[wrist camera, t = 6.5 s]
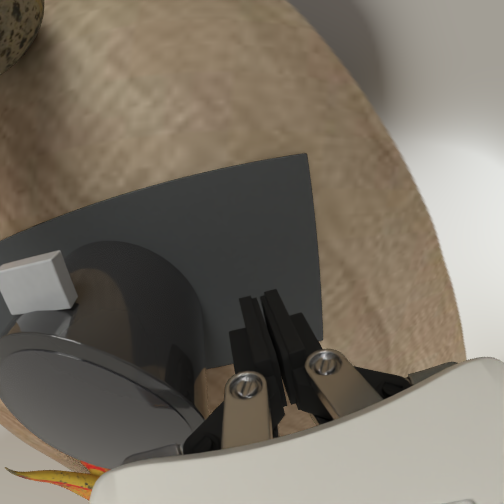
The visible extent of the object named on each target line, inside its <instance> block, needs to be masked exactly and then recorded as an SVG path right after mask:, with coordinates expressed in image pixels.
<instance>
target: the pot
mask: <svg viewBox="0 0 504 504" xmlns="http://www.w3.org/2000/svg"><path fill="white" fill-rule="evenodd" d="M0 292H1V294H2V296H3V298H4V300H5V302H6V304H7V307H8V309H9V311H10V313H11V314H12V315H15V316H14V317H13V318H12V320H11V321H10V322H9V324H8V325H7V326H6V328H5V329H4V330H3V332H2V333H1V335H0V398H1V400H2V401H3V403H4V404H5V406H6V407H7V408H8V409H9V411H10V412H11V413H12V414H13V415H14V416H15V417H16V419H17V420H18V421H19V422H20V423H21V424H23V425H24V426H25V427H26V428H27V429H28V430H29V431H31V432H32V433H33V434H34V435H36V436H37V437H38V438H40V439H41V440H43V441H44V442H46V443H47V444H49V445H50V446H52V447H54V448H55V449H57V450H59V451H61V452H63V453H65V454H67V455H69V456H71V457H73V458H76V459H78V460H80V461H83V462H86V463H89V464H92V465H95V466H98V467H102V468H106V469H110V470H111V469H113V468H116V467H118V466H121V465H122V463H123V461H124V460H125V459H126V458H127V457H128V456H130V455H133V454H136V453H140V452H144V451H148V450H152V449H156V448H159V447H163V446H166V445H170V444H173V443H177V444H182V443H184V442H185V441H186V439H187V438H188V437H189V436H190V435H191V434H192V433H193V432H194V431H195V430H196V429H197V428H198V427H199V426H200V425H201V424H202V423H203V422H204V421H205V420H206V419H207V418H208V417H209V408H208V394H207V379H206V361H205V339H204V316H203V311H202V307H201V304H200V301H199V298H198V296H197V294H196V292H195V290H194V288H193V287H192V285H191V284H190V283H189V281H188V280H187V279H186V277H185V276H184V275H183V274H182V273H181V272H180V271H179V270H178V269H177V268H176V267H175V266H174V265H172V264H171V263H170V262H169V261H167V260H166V259H164V258H163V257H162V256H160V255H158V254H156V253H154V252H153V251H151V250H148V249H146V248H144V247H141V246H138V245H135V244H131V243H127V242H120V241H99V242H93V243H89V244H86V245H83V246H81V247H79V248H77V249H75V250H74V251H72V252H71V253H69V254H68V255H67V256H66V257H65V258H63V255H62V252H61V251H60V250H58V251H54V252H50V253H46V254H41V255H37V256H33V257H29V258H25V259H21V260H18V261H14V262H10V263H6V264H3V265H2V266H0Z"/></svg>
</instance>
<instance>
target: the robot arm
mask: <svg viewBox="0 0 504 504" xmlns="http://www.w3.org/2000/svg"><path fill="white" fill-rule="evenodd" d="M260 299H261V304H262V308H263V313H264V317H265V321H264V318H263V315H262V312H261V309H260V306H259V303H258V300H257V298H251V295H250V296H246V297H242V298H239V302H240V307H241V311H242V315H243V319H244V323H245V328H241V329H237V330H233V331H229V338H230V345H231V351H232V357H233V363H234V369H235V375H233V376H232V377H231V378H230V379H229V380H228V382H227V383H226V386H225V394H224V401H223V402H222V403H221V404H220V405H219V406H218V407H217V408H216V409H215V410H214V411H213V412H212V414H211V415H210V416H209V417H208V418H207V419H206V420H205V421H204V422H203V423H202V424H201V425H200V426H199V427H198V428H197V429H196V430H195V431H194V432H193V433H192V434H191V435H190V436H189V437H188V438H187V439H186V441H185V442H184V443H182V444H177V443H173V444H170V445H166V446H163V447H159V448H156V449H152V450H148V451H144V452H140V453H136V454H133V455H130V456H128V457H127V458H126V459H125V460H124V461H123V463H122V465H121V466H118V467H116V468H113V469H111V470H109V471H107V472H105V473H104V474H102V475H101V476H100V477H99V478H98V479H97V481H96V482H95V484H94V486H93V489H92V492H91V496H90V499H89V504H504V363H503V362H502V361H500V360H498V359H495V358H492V357H480V358H475V359H470V360H466V361H463V362H460V363H457V362H448V363H444V364H441V365H438V366H435V367H432V368H429V369H425V370H422V371H419V372H415V373H411V374H408V377H406V378H403V377H400V376H397V375H392V374H387V373H382V372H378V371H373V370H368V369H364V368H359V367H355V366H353V365H352V364H351V363H350V362H349V361H348V360H347V359H346V358H345V356H344V355H343V354H341V353H340V352H339V351H336V350H334V349H322V347H321V345H320V344H319V342H318V340H317V338H316V336H315V335H314V333H313V331H312V329H311V327H310V326H309V324H308V322H307V320H306V319H305V317H304V315H303V313H301V312H300V313H297V314H293V315H290V316H289V314H288V312H287V310H286V308H285V305H284V303H283V301H282V299H281V297H280V295H279V293H278V291H277V289H273V290H269V291H265V292H264V295H263V296H260ZM265 322H266V324H265ZM281 377H282V378H281ZM282 380H283V383H284V386H285V389H286V392H287V394H288V397H289V400H290V403H291V405H292V404H295V403H296V405H297V408H298V410H300V409H301V410H302V411H305V412H308V413H310V416H311V418H312V420H313V421H314V423H315V425H316V426H315V427H312V428H309V429H306V430H303V431H299V432H296V433H293V434H289V435H285V436H282V437H280V432H279V426H278V424H279V422H280V421H281V419H282V418H283V417H284V415H285V413H284V408H283V407H285V406H287V402H286V397H285V392H284V387H283V383H282Z"/></svg>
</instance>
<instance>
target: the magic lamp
mask: <svg viewBox="0 0 504 504" xmlns="http://www.w3.org/2000/svg"><path fill="white" fill-rule="evenodd" d="M80 462H81V463H82V464H83V465H84V466H85V467H86V468H87V469H88V470H89V472H90V474H86V473H77V472H69V471H58V470H43V471H30V472H17V471H13V470H10V469H8V468H6V467H5V468H6V469H7V470H8V471H9V472H11V473H12V474H14V475H17V476H19V477H22V478H25V479H29V480H34V481H41V482H48V483H52V484H56V485H59V486H61V487H64V488H66V489H69V490H70V491H72V492H74V493H76V494H78V495H80V496H82V497H84V498H85V499H87V500H89V499H90V496H91V492H92V489H93V486H94V484H95V482H96V481H97V479H98V478H99V477H100V476H101V475H102V474H104V473H105V472H107V471H109V470H110V469H106V468H102V467H98V466H95V465H92V464H89V463H86V462H83V461H80Z"/></svg>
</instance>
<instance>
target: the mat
mask: <svg viewBox="0 0 504 504" xmlns="http://www.w3.org/2000/svg"><path fill="white" fill-rule="evenodd" d="M99 241H120V242H127V243H131V244H135V245H138V246H141V247H144V248H146V249H148V250H151V251H153V252H154V253H156V254H158V255H160V256H162V257H163V258H164V259H166V260H167V261H169V262H170V263H171V264H172V265H174V266H175V267H176V268H177V269H178V270H179V271H180V272H181V273H182V274H183V275H184V276H185V277H186V279H187V280H188V281H189V283H190V284H191V285H192V287H193V288H194V290H195V292H196V294H197V296H198V298H199V301H200V304H201V307H202V311H203V316H204V339H205V361H206V369H210V368H215V367H220V366H225V365H229V364H234V363H233V357H232V351H231V345H230V338H229V331H233V330H237V329H241V328H245V323H244V319H243V315H242V311H241V307H240V302H239V298H242V297H246V296H250V295H251V298H257V300H258V303H259V306H260V309H261V312H262V315H263V318H264V321H265V317H264V313H263V308H262V304H261V299H260V296H263V295H264V292H265V291H269V290H273V289H277V291H278V293H279V295H280V297H281V299H282V301H283V303H284V305H285V308H286V310H287V312H288V314H289V316H290V315H293V314H297V313H300V312H301V313H303V315H304V317H305V319H306V320H307V322H308V324H309V326H310V327H311V329H312V331H313V333H314V335H315V336H316V338H317V340H318V341H321V340H323V322H322V300H321V283H320V269H319V256H318V244H317V233H316V223H315V213H314V204H313V196H312V187H311V180H310V172H309V165H308V157H307V154H306V153H303V154H297V155H290V156H284V157H278V158H272V159H267V160H261V161H256V162H251V163H245V164H240V165H236V166H231V167H226V168H221V169H217V170H212V171H208V172H204V173H200V174H195V175H191V176H187V177H183V178H179V179H175V180H172V181H168V182H164V183H160V184H157V185H153V186H150V187H146V188H143V189H139V190H136V191H132V192H129V193H126V194H122V195H119V196H116V197H113V198H110V199H107V200H104V201H101V202H98V203H95V204H92V205H89V206H86V207H83V208H80V209H77V210H75V211H72V212H69V213H67V214H64V215H61V216H59V217H56V218H53V219H51V220H48V221H46V222H43V223H41V224H38V225H36V226H33V227H31V228H29V229H26V230H24V231H22V232H19V233H17V234H15V235H12V236H10V237H8V238H6V239H4V240H1V241H0V266H2V265H3V264H6V263H10V262H14V261H18V260H21V259H25V258H29V257H33V256H37V255H41V254H46V253H50V252H54V251H58V250H60V251H61V252H62V255H63V258H65V257H66V256H67V255H68V254H69V253H71V252H72V251H74V250H75V249H77V248H79V247H81V246H83V245H86V244H89V243H93V242H99ZM14 316H15V315H12V314H11V313H10V311H9V309H8V307H7V304H6V302H5V300H4V298H3V296H2V294H1V292H0V335H1V333H2V332H3V330H4V329H5V328H6V326H7V325H8V324H9V322H10V321H11V320H12V318H13V317H14ZM265 324H266V322H265Z"/></svg>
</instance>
